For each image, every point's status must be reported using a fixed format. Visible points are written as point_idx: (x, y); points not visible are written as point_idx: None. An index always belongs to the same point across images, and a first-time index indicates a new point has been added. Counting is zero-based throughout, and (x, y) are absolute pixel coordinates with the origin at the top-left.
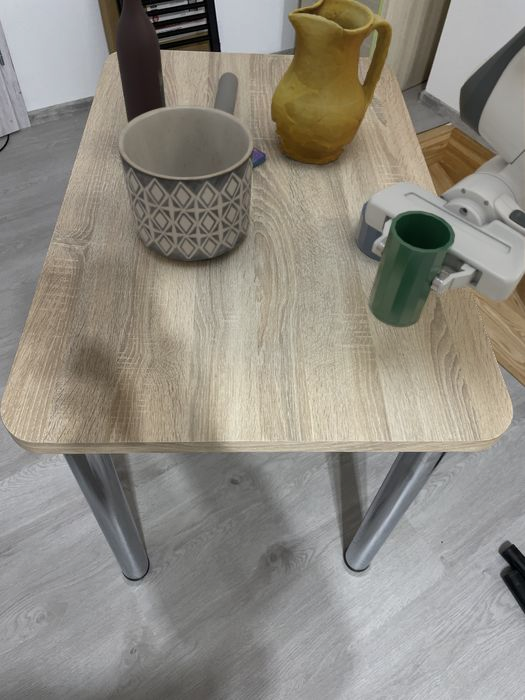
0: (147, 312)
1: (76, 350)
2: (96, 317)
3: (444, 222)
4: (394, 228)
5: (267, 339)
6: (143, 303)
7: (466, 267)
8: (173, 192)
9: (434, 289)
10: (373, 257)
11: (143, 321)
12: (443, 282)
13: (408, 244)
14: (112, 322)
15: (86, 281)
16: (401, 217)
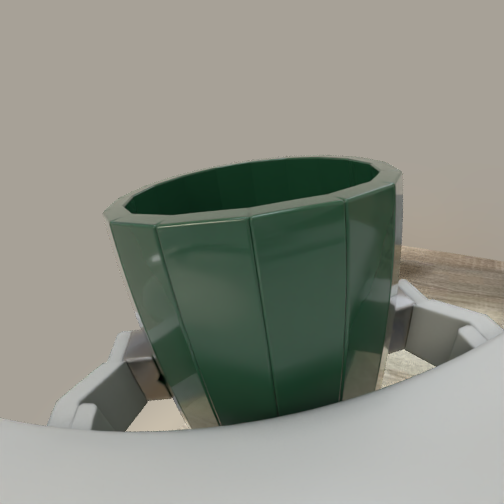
0: (456, 299)
1: (419, 264)
2: (451, 275)
3: (215, 212)
4: (315, 156)
5: (398, 381)
6: (467, 298)
7: (77, 422)
8: None
9: None
10: None
11: (445, 296)
12: (127, 332)
13: (231, 164)
14: (445, 281)
15: (489, 274)
16: (368, 167)
